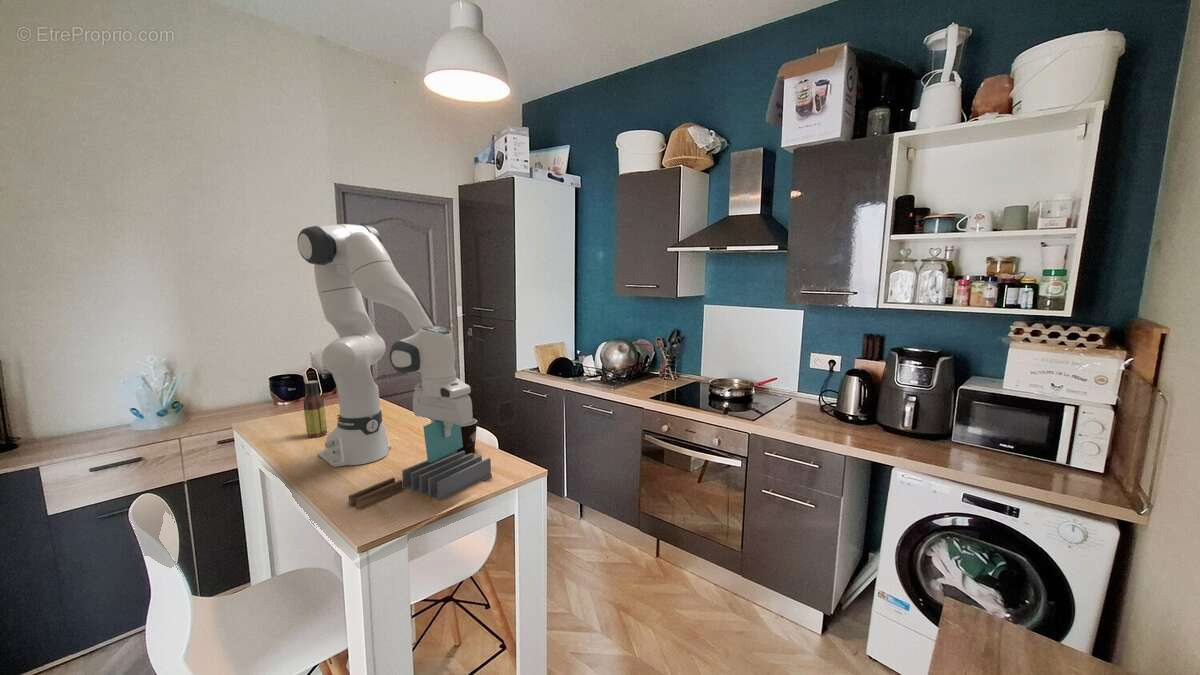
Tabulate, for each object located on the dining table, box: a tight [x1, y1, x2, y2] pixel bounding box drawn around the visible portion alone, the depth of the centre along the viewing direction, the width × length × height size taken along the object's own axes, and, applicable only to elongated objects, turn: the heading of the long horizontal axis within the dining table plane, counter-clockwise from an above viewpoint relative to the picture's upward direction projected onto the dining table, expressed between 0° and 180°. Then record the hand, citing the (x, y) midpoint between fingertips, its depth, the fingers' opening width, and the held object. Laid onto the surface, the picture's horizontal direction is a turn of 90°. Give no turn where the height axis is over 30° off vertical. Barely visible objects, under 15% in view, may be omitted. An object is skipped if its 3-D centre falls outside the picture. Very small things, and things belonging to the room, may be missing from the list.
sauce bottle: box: [303, 380, 328, 438], centre depth 161 cm, size 7×6×20 cm
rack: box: [401, 450, 493, 502], centre depth 125 cm, size 15×18×6 cm
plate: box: [423, 421, 463, 463], centre depth 124 cm, size 1×11×10 cm, turn 149°
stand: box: [347, 477, 406, 511], centre depth 115 cm, size 6×12×3 cm, turn 149°
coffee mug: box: [457, 418, 478, 456], centre depth 146 cm, size 12×9×10 cm
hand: (443, 435), depth 124 cm, fingers closed on plate, 1 cm apart
